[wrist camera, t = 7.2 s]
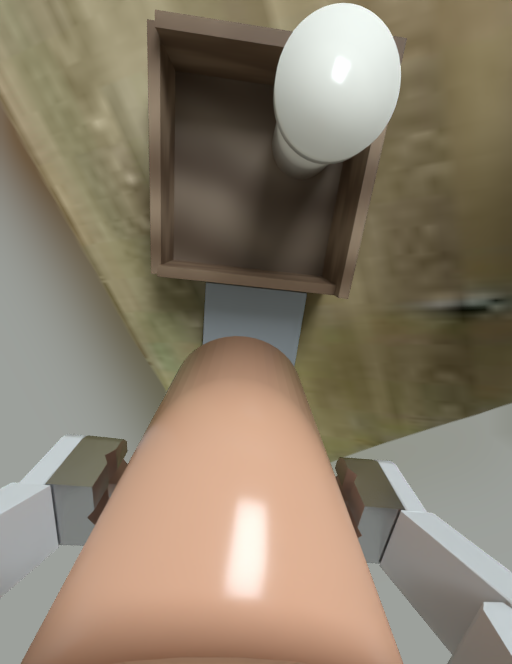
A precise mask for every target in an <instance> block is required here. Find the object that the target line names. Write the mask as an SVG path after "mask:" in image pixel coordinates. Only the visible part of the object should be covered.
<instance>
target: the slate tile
mask: <svg viewBox="0 0 512 664" xmlns="http://www.w3.org/2000/svg"><path fill="white" fill-rule="evenodd" d="M306 296H307V293H306V292H300V291H291V290H282V289H272V288H263V287H253V286H244V285H234V284H225V283H215V282H206V292H205V312H204V332H203V345H204V344H206V343H208V342H210V341H212V340H215V339H218V338H223V337H230V336H245V337H251V338H255V339H259V340H262V341H264V342H266V343H269V344H271V345H272V346H274V347H276V348H277V349H279V350H280V351H281V352H282V353H283V354H285V356H286V357H287V358H288V359H289V360H290V361H291V363H292V364H293V366H294V365H295V359H296V354H297V348H298V342H299V336H300V331H301V325H302V319H303V313H304V308H305V302H306Z"/></svg>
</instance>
